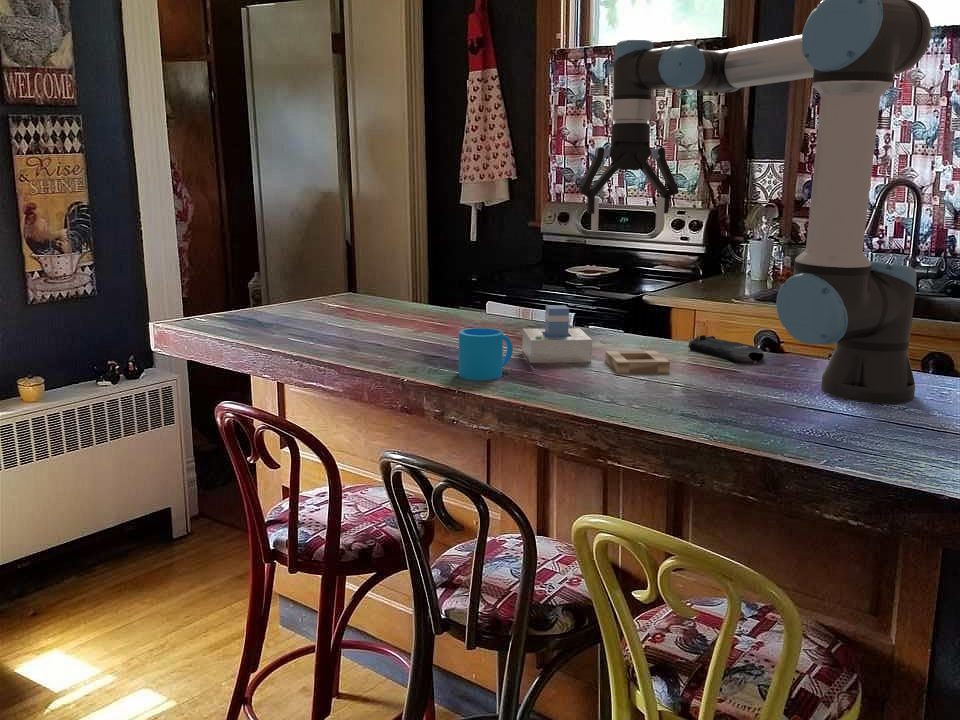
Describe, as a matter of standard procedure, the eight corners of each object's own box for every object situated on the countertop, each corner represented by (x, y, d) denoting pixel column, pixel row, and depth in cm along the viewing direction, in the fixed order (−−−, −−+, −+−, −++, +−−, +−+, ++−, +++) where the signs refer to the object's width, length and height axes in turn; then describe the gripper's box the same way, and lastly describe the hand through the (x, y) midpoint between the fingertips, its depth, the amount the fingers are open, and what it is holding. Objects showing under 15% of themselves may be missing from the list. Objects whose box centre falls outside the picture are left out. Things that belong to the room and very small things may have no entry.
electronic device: (685, 360, 192) (744, 364, 180) (686, 334, 192) (745, 336, 180) (713, 361, 198) (773, 364, 186) (714, 335, 198) (774, 337, 186)
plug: (567, 358, 183) (569, 308, 181) (547, 358, 183) (548, 308, 181) (563, 353, 187) (565, 305, 185) (544, 353, 187) (545, 305, 185)
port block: (591, 364, 180) (592, 337, 179) (530, 365, 179) (531, 338, 177) (578, 351, 191) (579, 326, 190) (522, 352, 190) (522, 326, 189)
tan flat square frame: (669, 374, 172) (670, 361, 172) (617, 375, 171) (617, 362, 171) (654, 362, 182) (655, 350, 182) (604, 363, 181) (605, 351, 181)
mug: (478, 382, 165) (479, 338, 163) (449, 374, 171) (449, 331, 169) (526, 372, 173) (527, 330, 171) (497, 365, 179) (497, 324, 177)
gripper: (684, 123, 187) (679, 228, 192) (565, 122, 184) (563, 229, 188) (698, 122, 180) (692, 231, 184) (574, 121, 177) (571, 231, 181)
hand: (627, 230), depth 186 cm, fingers open, 13 cm apart
